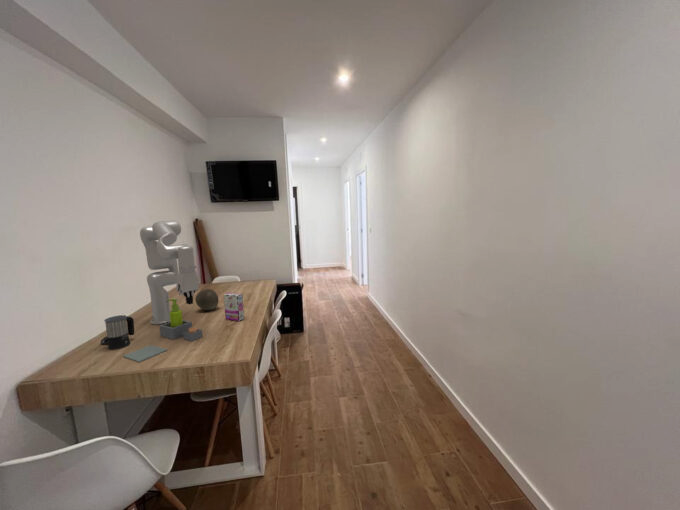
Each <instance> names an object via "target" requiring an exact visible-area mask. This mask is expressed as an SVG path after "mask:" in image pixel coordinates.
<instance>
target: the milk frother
mask: <svg viewBox="0 0 680 510" xmlns="http://www.w3.org/2000/svg"><path fill="white" fill-rule="evenodd" d="M134 320H135V319H134V318H133V317H131V316H127V315H126V314H125V315H124V314H123V315H119V314H118V315H114V316H110V317H107V318H105V319H104V323H105V330H106V336H105V337H103V338H102V339H101V340H100V344H101V345H107V349H108V350H118V349H122V348H125V347H127V346H129V345H130V344H131V341H130V337H129V336H134V335H135V321H134Z"/></svg>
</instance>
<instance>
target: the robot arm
mask: <svg viewBox="0 0 680 510" xmlns="http://www.w3.org/2000/svg"><path fill="white" fill-rule="evenodd" d="M181 232H182V227H181V224H180V223H179V222H178V221H176V220H159V221H155V222H154V223H153V224H152V226H151V225H150V226H145V227H142V228H141V229H140V231H139V236H140V240H141V242H142V244H143V246H144V250H145V256H146V261H147V267H148V269H149V270H151V271H154V272H151V273H149V274H148V275H147V276H146V281H147V285H148V289H149V294H150V302H151V311H152V314H151V316H150V317H152V319H150V324H151V325H163V323H164V324H166V323H167V322H168V323H169V322H170V313H169V312H171V308H170V307H171V306H170V301H168V302H167V300H170V297H169V292H168V290H166V289H165V288H164V287H168V286H173V285H176V291H177V292H178V295H179V296H184V298H185V303H186V304H187V305H192V304H194V296H195V293H196V292H197V291H199V287H200V286H199V285H200V282H199V278H198V276H199V275H198V273H197V270H196V269H197V266H196V264H195V252H194V247H193V246H191V245H188V244H175V243H176V241H177V240H178V236H179V235H180V234H181ZM165 269H168V270H165ZM157 270H161V271H157ZM162 270H163V271H162Z"/></svg>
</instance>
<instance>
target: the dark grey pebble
mask: <svg viewBox="0 0 680 510" xmlns="http://www.w3.org/2000/svg"><path fill="white" fill-rule="evenodd" d="M195 303H196V306H198V308H200V309H201V310H204V311H212V310H215V309H216V308H217V307H218V305H219V296H218V294H217V293H216V291H215V290H213V289H210V288H207V289H202V290H200V291H199V292H197V293H196V295H195Z"/></svg>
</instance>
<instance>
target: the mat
mask: <svg viewBox="0 0 680 510" xmlns="http://www.w3.org/2000/svg"><path fill="white" fill-rule="evenodd" d="M165 352H168V349H167V348H163V347H159V346H156V345H153V344H151V345H148V346H145V347H141V348H139V349H137V350H134V351H131V352H129V353H127V354H124V355H122V356H123V358H125V359H128V360H131V361H133V360H134V362H136V361H137V363H139V362H140V363H142V362H144V361H146V359H147V360H149V359H151V358H153V357H156V356H157V355H160V353H161V354H162V353H165ZM141 361H142V362H141Z"/></svg>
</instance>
